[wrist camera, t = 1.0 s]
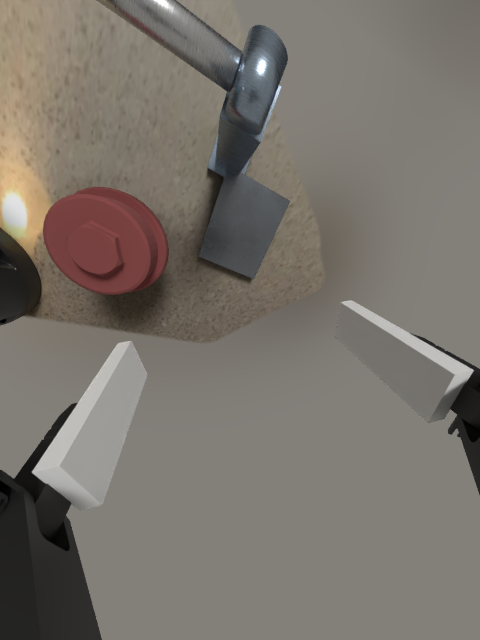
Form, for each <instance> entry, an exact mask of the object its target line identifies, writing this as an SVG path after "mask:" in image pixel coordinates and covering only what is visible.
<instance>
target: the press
mask: <svg viewBox="0 0 480 640" xmlns="http://www.w3.org/2000/svg"><path fill="white" fill-rule="evenodd" d="M280 89H281V86H278V89H277V92H276V94H275V97H274V100H273V103H272V105H271V108H270V111H269V113H268V116H267V119H266V121H265V124H264V127H263V130H262V132H261V134H260V135H252V134H249V133H246V132H245V131H243V130H241V129H240V128H238V127H237V126H236V125H235V124H233V123H232V121H231V120H230V119H229V118H228V116H227V114H226V112H225V109H226V105H227V102H228V99H229V95H230V93H229V92H228V91H227V94H226V97H225V101H224V104H223V107H222V111H221V114H220V121H219V131H218V135H217V138H216V142H215V145H214V148H213V151H212V155H211V158H210V161H209V165H208V169H209V170H211V171H212V172H214V173H216V174H218V175H220V176H221V177H223V178H224V180H223V183H222V186H221V189H220V192H219V195H218V198H217V201H216V204H215V207H214V209H213V212H212V215H211V218H210V221H209V224H208V227H207V230H206V233H205V236H204V239H203V242H202V245H201V248H200V251H199V254H198V257H201V258H203V259H206V260H208V261H211V262H213V263H216V264H218V265H220V266H223V267H225V268H228V269H230V270H233V271H235V272H237V273H240V274H242V275H245V276H247V277H250V278H252V279H254V278H255V275H256V273H257V271H258V269H259V267H260V265H261V263H262V260H263V258H264V256H265V254H266V252H267V250H268V248H269V245H270V243H271V241H272V239H273V237H274V235H275V232H276V230H277V228H278V226H279V224H280V222H281V220H282V217H283V215H284V213H285V211H286V209H287V207H288V205H289V202H290V201H289V200H288V199H286V198H284V197H283V196H281V195H279V194H277V193H276V192H274V191H272V190H270V189H269V188H267V187H265V186H264V185H262V184H260V183H258V182H257V181H255V180H253V179H251V178H250V177H248V176H246V175H245V172H246V169H247V166H248V164H249V161H250V158H251V156H252V154H253V153H254V151H255V150H256V148H257V147H258V145H259V144H260V142H261V140H262V137H263V134H264V132H265V129H266V126H267V124H268V121H269V118H270V116H271V113H272V110H273V108H274V105H275V102H276V100H277V97H278V94H279V92H280Z"/></svg>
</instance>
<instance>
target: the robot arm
mask: <svg viewBox="0 0 480 640" xmlns="http://www.w3.org/2000/svg"><path fill="white" fill-rule="evenodd" d="M40 291H41V285H40V279H39V276H38V273H37V270H36V268H35V266H34V264H33V262H32V260H31V259H30V257H29V256H28V255H27V253H26V252H25V251H24V249H23V248H22V247H21V246H20V245H19V244H18V243H17V242H16V241H15V240H14V239H13V238H12V237H11V236H10V235H8V234H7V233H6V232H5V231H3V230H2V229H1V228H0V325H3V324H6V323H9V322H12V321H14V320H16V319H18V318H20V317H22V316H24V315H25V314H27V313H28V312H30V311H31V310H32V309H33V308H34V307H35V305H36V304H37V302H38V300H39V297H40ZM335 338H336V339H338V340H339V341H340V342H341V343H342V344H343V345H344V346H345V347H346V348H347V349H348V350H350V351H351V352H352V353H353V354H354V355H355V356H356V357H357V358H358V359H359V360H360V361H362V363H364V364H365V365H366V366H367V367H368V368H369V369H370V370H371V371H372V372H373V373H375V374H376V375H377V376H378V377H379V378H380V379H381V380H382V381H383V382H384V383H385V384H386V385H387V386H389V387H390V388H391V389H392V390H393V391H394V392H395V393H396V394H397V395H398V396H399V397H400V398H401V399H403V400H404V401H405V402H406V403H407V404H408V405H409V406H410V407H411V408H412V409H414V411H416V412H417V413H418V414H419V415H420V416H421V417H422V418H423V419H424V420H425V421H426V422H428V423H430V422H434V421H437V420H442V419H444V418H445V417H446V415H447V413H448V412H449V410H450V409H451V410H452V411H454V412H455V413H456V414H457V417H456V418H455V420H454V421H453V423H452V424H451V426H450V427H449V429H448V434H452V433H453V432H454V431H455V429H458V431H459V434H458V435H457V436H458V437H461V440H462V443H463V446H464V449H465V452H466V455H467V458H468V461H469V464H470V467H471V470H472V473H473V476H474V479H475V482H476V485H477V488H478V491H479V494H480V369H479V368H477V367H475V366H474V365H472V364H470V363H468V362H466V361H465V360H463V359H461V358H459V357H457V356H455V355H454V354H452V353H450V352H448V351H445V350H444V349H443V348H441V347H439V346H436V345H435V344H434V343H432V342H430V341H428V340H427V339H425V338H422V337H420V336H417V335H413V334H410V333H408V332H406V331H404V330H402V329H401V328H399V327H397V326H396V325H394V324H392V323H390V322H388V321H387V320H385V319H383V318H382V317H380V316H378V315H376V314H375V313H373V312H371V311H369V310H368V309H366V308H364V307H362V306H361V305H358V304H357V303H355V302H354V301H351V300H350V301H345V302H341V303H340V308H339V315H338V322H337V330H336V337H335ZM146 378H147V373H146V371H145V369H144V367H143V365H142V362H141V360H140V358H139V356H138V354H137V352H136V350H135V347H134V345H133V343H132V341H127V342H122V343H118V344H117V345H116V347H115V348H114V350H113V351H112V353H111V354H110V356H109V357H108V359H107V360H106V362H105V363H104V365H103V366H102V368H101V369H100V371H99V373H98V374H97V376H96V377H95V378H94V380H93V381H92V383H91V384H90V386H89V387H88V389H87V390H86V392H85V393H84V395H83V396H82V398H81V399H80V401H79V402H78V403H74V404H71V405H70V406H69V407H68V408H67V409H66V410H65V411H64V412H63V413H62V414H61V415H60V416H59V417H58V419H57V420H56V422H55V423H54V424H53V426H52V429H50V430H49V431H48V433H47V434H46V435H45V437H44V440H42V441H41V442H40V444H39V445H38V447H37V448H36V449H35V451H34V452H33V453H32V455H31V456H30V458H29V459H28V460H27V462H26V463H25V465H24V466H23V467H22V469H21V470H20V472H19V473H18V475H17V476H16V477H15V478H14V479H13V478H12V477H11V476H9V475H8V474H6V473H5V472H3V471H2V470H0V640H102V639H101V635H100V631H99V627H98V623H97V620H96V616H95V612H94V609H93V605H92V601H91V598H90V594H89V590H88V586H87V583H86V579H85V575H84V572H83V568H82V564H81V560H80V557H79V553H78V549H77V546H76V542H75V538H74V535H73V531H72V527H71V524H70V521H69V519H68V518H67V516H66V514H67V512H68V510H69V507H70V505H71V504H72V505H73V506H75V507H76V508H77V509H78V510H84V509H88V508H92V507H96V506H100V505H102V504H103V501H104V498H105V495H106V493H107V490H108V487H109V484H110V481H111V478H112V475H113V472H114V470H115V467H116V464H117V461H118V458H119V455H120V452H121V449H122V447H123V444H124V441H125V438H126V435H127V432H128V429H129V427H130V424H131V421H132V418H133V415H134V412H135V409H136V407H137V404H138V401H139V398H140V395H141V392H142V389H143V386H144V384H145V381H146Z"/></svg>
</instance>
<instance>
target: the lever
mask: <svg viewBox="0 0 480 640" xmlns="http://www.w3.org/2000/svg"><path fill="white" fill-rule="evenodd" d="M97 1H98V2H100V3H101V4H103V5H104V6H106V7H107V8H108V9H110V10H111V11H113V12H114V13H116V14H117V15H119V16H120V17H121V18H123V19H124V20H126V21H127V22H129V23H130V24H131V25H133V26H134V27H136V28H137V29H139V30H140V31H141V32H143V33H144V34H146V35H147V36H149V37H150V38H152V39H153V40H154V41H156V42H157V43H159V44H160V45H162V46H163V47H164V48H166V49H167V50H169V51H170V52H172V53H173V54H174V55H176V56H177V57H179V58H180V59H182V60H183V61H184V62H186V63H187V64H189V65H190V66H192V67H193V68H195V69H196V70H197V71H199V72H200V73H202V74H203V75H205V76H206V77H207V78H209V79H210V80H212V81H213V82H215V83H216V84H217V85H219V86H220V87H222V88H223V89H225V90H226V91H228V92H229V93H230V95H229V99H228V102H227V105H226V109H225V112H226V114H227V116H228V118H229V119H230V120H231V121H232V123H233V124H235V125H236V126H237V127H238V128H240V129H241V130H243V131H245V132H246V133H249V134H252V135H260V134H261V132H262V130H263V127H264V124H265V121H266V119H267V116H268V113H269V111H270V108H271V105H272V103H273V100H274V97H275V94H276V92H277V89H278V86H279V84H280V81H281V78H282V76H283V73H284V70H285V67H286V65H287V61H288V55H287V51H286V48H285V46H284V43H283V42H282V40H281V39H280V37H279V36H278V35H277V34H276V33H275V32H274V31H273V30H271V29H270V28H268V27H266V26H262V25H255V26H253V27H252V28H251V29H250V30H249V33H248V36H247V39H246V42H245V46H244V49H243V52H242V51H241V50H240V49H238V48H237V47H236V46H234V45H233V44H232V43H231V42H229V41H228V40H227V39H225V38H224V37H223V36H222V35H220V34H219V33H218V32H216V31H215V30H214V29H213V28H211V27H210V26H209V25H208V24H206V23H205V22H204V21H202V20H201V19H200V18H199V17H197V16H196V15H195V14H193V13H192V12H191V11H190V10H188V9H187V8H186V7H184V6H183V5H182V4H181V3H179V2H178V1H177V0H97Z"/></svg>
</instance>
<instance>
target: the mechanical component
mask: <svg viewBox="0 0 480 640" xmlns="http://www.w3.org/2000/svg"><path fill="white" fill-rule="evenodd" d="M43 234H44V241H45V245H46V248H47V250H48V253H49V255H50V257H51V258H52V260H53V262H54V263H55V264H56V266H57V267H58V268H59V269H60V270H61V271H62V272H63V273H64V274H65V276H67V277H68V278H69V279H70V280H72V281H73V282H74V283H76V284H78V285H79V286H81V287H83V288H85V289H87V290H90V291H93V292H96V293H100V294H108V295H116V294H122V293H126V292H134V291H139V290H142V289H144V288H146V287H148V286H150V285H151V284H153V283H154V282H155V281H156V280H157V279H158V278H159V276H160V275H161V274H162V273H163V271H164V269H165V267H166V264H167V261H168V253H169V248H168V241H167V237H166V234H165V231H164V229H163V227H162V225H161V223H160V221H159V220H158V218H157V217H156V216H155V214H154V213H153V212H152V211H151V210H150V209H149V208H148V207H147V206H146V205H145V204H144V203H142V202H141V201H140V200H138V199H137V198H135V197H133V196H131V195H129V194H127V193H124V192H122V191H118V190H115V189H111V188H105V187H91V188H86V189H83V190H80V191H78V192H76V193H75V194H73V195H70V196H67V197H64V198H62V199H60V200H59V201H57V202H56V203H55V204H54V205H53V206H52V207H51V208H50V209H49V211H48V213H47V215H46V217H45V221H44V227H43Z"/></svg>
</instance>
